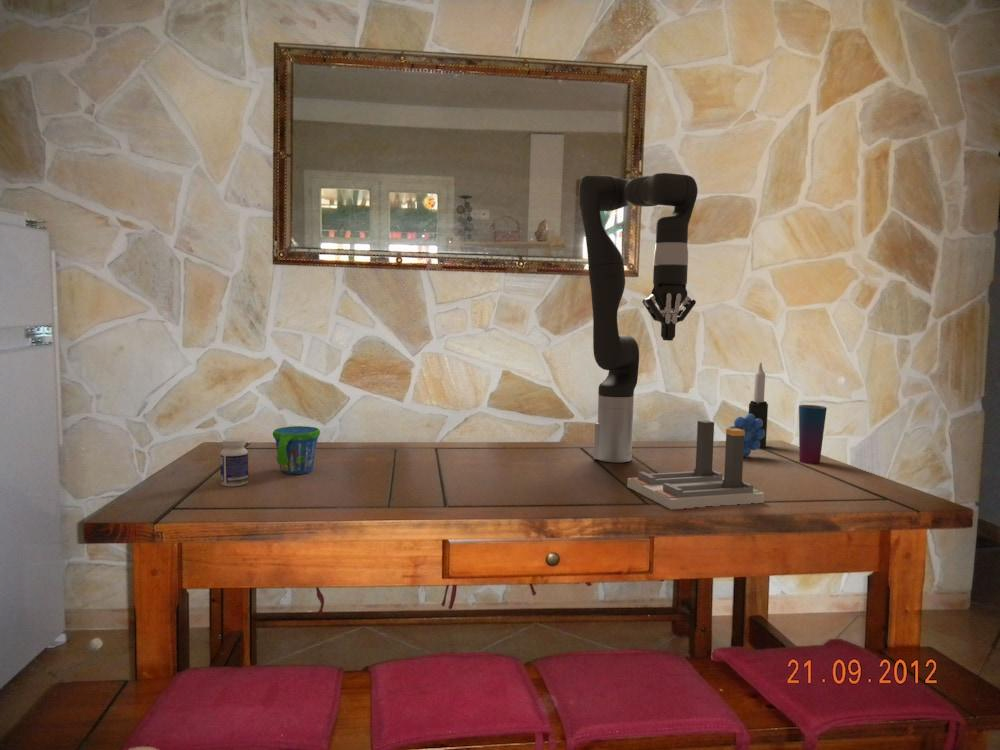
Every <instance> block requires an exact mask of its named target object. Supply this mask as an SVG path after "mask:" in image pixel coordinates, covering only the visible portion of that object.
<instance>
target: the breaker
mask: <svg viewBox="0 0 1000 750" xmlns="http://www.w3.org/2000/svg"><path fill="white" fill-rule="evenodd" d="M744 436H745V430H741V429H738V428H734V429H728V428H726V429H725V443H726V445H725V452H724V453H725V454H724V455H725V456H724V473H723V474H724V475H723V477H724V480H723V485H722V487H723V488H740V487H743V482H742V481H743V471H744V470H743V469H744V468H743V467H744V465H743V464H744V457H743V451H744Z"/></svg>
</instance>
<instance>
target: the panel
mask: <svg viewBox="0 0 1000 750" xmlns="http://www.w3.org/2000/svg"><path fill="white" fill-rule="evenodd" d="M696 428H697V429H696V431H697V432H696V449H695V450H696V451H695V452H696V454H695V468H694V470H693V471H679V472H678V471H675V472H661V473H647V472H645V471H638V472H637V477H628V478H627V488H629V489H631V490H633V491H635V492H637V493H638V494H641V495H642V496H644V497H646V498H648V499H650V500H652V501H653V502H655V503H657V504H659V505H661V506H664V507H665V508H667V509H669V510H683V509H684V508H686V509H694V507H699V508H706V507H705V506H713V507H721V506H720V505H727V506H736V505H737V504H740V505H752V504H751V503H754V504H764V503H765V493H764V492H762V491H760V490H758V489H755V488H754V485H753V484H752V483H748V482H746V481H743V480H742V482H743V487H740V488H723V487H722V485H723V480H724V475H723V474H724V473H722V472H719V471H717V470H714V469H713V459H714V458H713V457H714V438H715V437H714V434H715V422H714V421H710V420H697V427H696ZM737 506H738V505H737Z"/></svg>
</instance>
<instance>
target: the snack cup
mask: <svg viewBox="0 0 1000 750" xmlns="http://www.w3.org/2000/svg"><path fill="white" fill-rule="evenodd" d="M320 434H321V430H320V429H319V428H318V427H314V426H306V425H305V426H301V425H298V426H297V425H294V426H284V427H283V426H282V427H279V428H275V429H273V432H272V437H273V439H274V441H275V446H276V453H277V454H276V461H277V463H278V464H279V469H280V473H283V474H286V475H303V474H308V473H310V472H312V471H313V470H314V467H315V459H316V453H317V445H318V438H319V437H320Z"/></svg>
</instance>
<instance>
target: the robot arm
mask: <svg viewBox="0 0 1000 750" xmlns="http://www.w3.org/2000/svg"><path fill="white" fill-rule="evenodd" d="M698 193H699V192H698V184H697V182H696V180H695V179H694V177H693V176H691V175H688V174H681V173H672V172H659V173H654V174H652V175H646V176H636V177H634V178H632V179H626V178H621V177H619V176H618V177H617V176H614V175H602V174H598V175H597V174H596V175H595V174H593V175H592V174H591V175H585V176H583V177H582V179H581V180H580V182H579V186H578V201H579V207H580V212H581V218H582V224H583V228H584V234H585V243H586V252H587V263H588V277H589V285H590V293H591V305H592V319H593V320H592V324H593V325H592V327H593V328H592V329H593V331H592V335H593V336H592V338H593V340H592V343H593V345H592V348H593V356H594V360H595V362H596V364H597V365H598V367H599V368H600V369H602V370H604V371H608V374H607V376H606V378H605V379H604V380H603V381H602V382H600V384H599V385H598V397H597V399H598V400H597V422H596V423H594V438H593V439H594V443H593V459H594V460H597V461H598V460H599V461H601V462H606V463H607V462H608V463H627V462H631V461H632V457H633V456H632V454H633V451H632V450H633V428H634V427H633V425H634V398H635V396H634V394H635V389H636V386H637V383H638V380H639V379H638V378H639V377H638V375H639V368H640V366H639V365H640V349H639V345H638V343H637V340H636V339H635V338H634V337H633V336H632V335H630V334H629V335H628V334H620V333H619V326H618V311H619V308H620V303H621V300H622V299H623V294H624V292H625V286H626V274H625V264H624V258H623V256H622V255H623V254H621V252H620V250H619V248H618V247H617V245H616V244H615V242H614V241H613V240H612V238H611V237H610V236H609V234H608V232H607V231H606V229H605V227H604V224H603V220H602V214H601V212H612V211H615V210H618V209H622V208H625V207H628V206H633V207H655V206H665V207H666V206H669V207H673V210H672V212H671V215H667V216H663V217H660V218H659V219H658V220H657V222H656V229H655V247H654V252H653V274H652V275H653V276H652V278H653V279H652V284H653V288H652V290H651V294H650V295H649V296H647V298H643V299H642V304H643V305H644V307H645V309H646V310H647V311H648V314H649V315H650V316H651V318H652V319H653V321H654V322H659V323H660V328H661V329H660V336H661V338H662V340H663V341H666V342H667V341H669V342H670V341H671V342H672V341H673V340H674V339H675V337H676V325H677V323H679V322H683V321H684V320H685V318H686V317H687V316H688V314H689V313H690V311H692V309H693V308H694V307H695V305H696V302H697V301H696V299H692V298H690V296H689V295H688V290H687V284H688V264H689V250H688V249H689V248H688V243H689V242H688V238H689V237H688V235H689V233H688V232H689V224H690V222H691V218H692V214H693V211H694V207H695V204H696V201H697V197H698ZM681 305H682V306H681ZM657 306H658V307H657Z"/></svg>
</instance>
